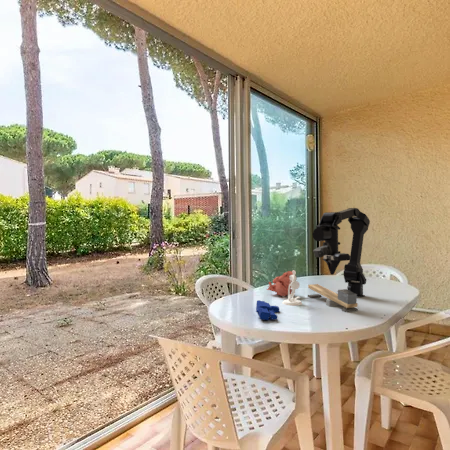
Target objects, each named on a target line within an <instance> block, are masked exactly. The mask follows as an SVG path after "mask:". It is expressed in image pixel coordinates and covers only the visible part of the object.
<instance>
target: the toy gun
mask: <svg viewBox="0 0 450 450" xmlns="http://www.w3.org/2000/svg"><path fill="white" fill-rule="evenodd" d="M255 306H256V307H255V312H256V313H257V315H258V317H259V319H260V320H265V321H269V320H273V321H274V320H275V321H276V320H278V315H277V313H279V312H280V307H279V306H278V305H271V304H270V303H269V302H266V301H265V300H256V305H255Z"/></svg>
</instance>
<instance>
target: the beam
mask: <svg viewBox="0 0 450 450" xmlns="http://www.w3.org/2000/svg"><path fill="white" fill-rule="evenodd" d="M307 286H308V289H309V290H312V291H314V292H315V293H316V294H320V295H321V296H323V297H325V298H326V299H331V300H332V301H334V302H336V303H338V304H340V305H339V306H343V307H344V308H352V307H355V308H358V302H356V304H346V303H344V302H342V301H340V300H338V292H337V293H336V292H335V291H332V290H330V289H329V288H327V287H324V286H322V285H320V284H318V283H317V284H316V283H315V284H314V283H313V284H308V285H307Z"/></svg>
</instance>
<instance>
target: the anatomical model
mask: <svg viewBox="0 0 450 450" xmlns="http://www.w3.org/2000/svg"><path fill="white" fill-rule="evenodd" d="M292 272H293V271H291V270H288V271H286V272H283V273H282V275H279V276H276V277H275V278H274V279H272V281H268V286H267V287H268V288H266V290H267V291H271V292H274V293H275V294H276V296H281V297H288V288H289V285H290V284H291V282H292V281H291V280H290V277H289V276H290V275H293V273H292ZM295 276H296V274H295ZM296 277H297V276H296ZM272 283H273V284H272ZM291 293H292V289H291V286H290V294H291Z"/></svg>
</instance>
